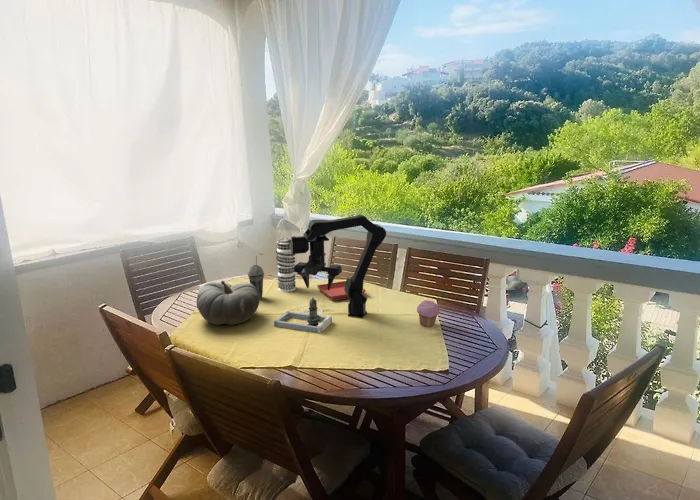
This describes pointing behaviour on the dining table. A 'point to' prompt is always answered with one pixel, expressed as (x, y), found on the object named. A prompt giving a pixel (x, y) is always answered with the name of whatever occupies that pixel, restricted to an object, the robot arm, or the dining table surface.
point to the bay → (318, 329)
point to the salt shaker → (313, 313)
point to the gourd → (227, 302)
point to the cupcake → (428, 313)
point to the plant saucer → (335, 290)
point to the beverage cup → (256, 278)
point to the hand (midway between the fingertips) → (318, 289)
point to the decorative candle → (285, 265)
